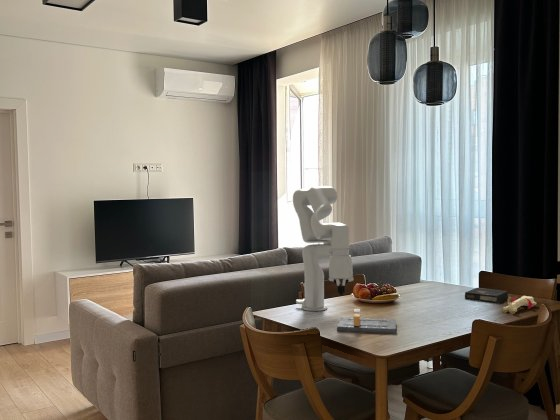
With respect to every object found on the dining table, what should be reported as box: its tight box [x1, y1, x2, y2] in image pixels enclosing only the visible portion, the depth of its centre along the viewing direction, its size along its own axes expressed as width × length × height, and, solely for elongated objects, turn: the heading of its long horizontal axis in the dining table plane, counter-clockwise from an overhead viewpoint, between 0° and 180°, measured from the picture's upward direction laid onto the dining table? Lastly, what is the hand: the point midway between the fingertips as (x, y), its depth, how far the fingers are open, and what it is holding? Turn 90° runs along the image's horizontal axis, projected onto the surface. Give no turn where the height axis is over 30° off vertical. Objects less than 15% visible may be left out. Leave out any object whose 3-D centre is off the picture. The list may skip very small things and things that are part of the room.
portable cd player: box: [464, 287, 509, 304], centre depth 293 cm, size 16×17×4 cm
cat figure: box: [501, 295, 537, 315], centre depth 269 cm, size 10×9×25 cm
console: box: [336, 317, 397, 335], centre depth 239 cm, size 24×16×2 cm, turn 79°
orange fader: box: [353, 313, 361, 326], centre depth 235 cm, size 2×4×4 cm, turn 169°
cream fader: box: [353, 308, 361, 315], centre depth 244 cm, size 2×4×4 cm, turn 169°
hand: (341, 294), depth 244 cm, fingers closed
